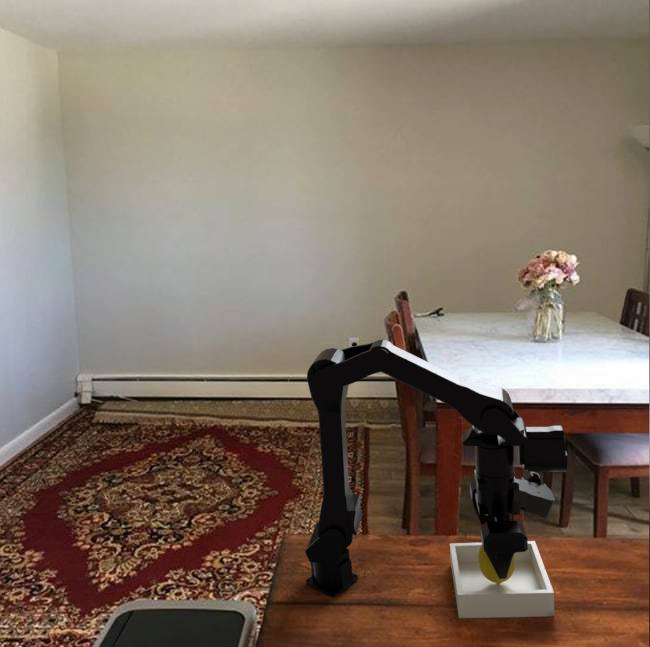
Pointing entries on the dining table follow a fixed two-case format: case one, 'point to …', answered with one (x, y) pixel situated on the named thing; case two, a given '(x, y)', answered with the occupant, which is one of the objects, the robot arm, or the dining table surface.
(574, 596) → the dining table surface
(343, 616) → the dining table surface
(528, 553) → the box
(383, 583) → the dining table surface
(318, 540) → the robot arm
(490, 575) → the lemon
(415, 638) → the dining table surface
